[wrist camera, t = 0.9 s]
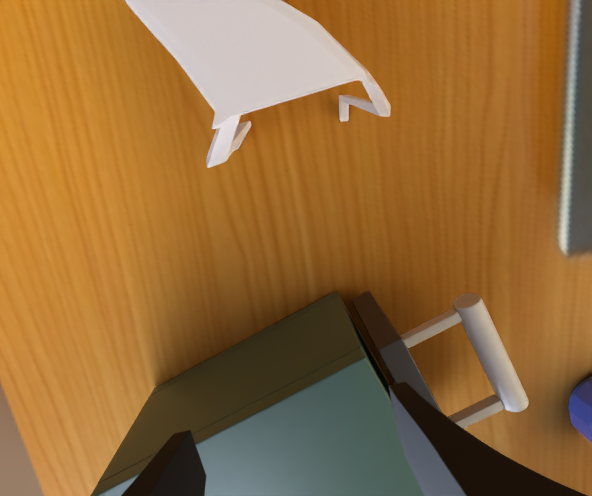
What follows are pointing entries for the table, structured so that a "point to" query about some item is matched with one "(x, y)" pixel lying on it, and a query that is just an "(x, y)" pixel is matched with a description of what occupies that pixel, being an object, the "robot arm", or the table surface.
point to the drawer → (466, 311)
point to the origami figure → (253, 59)
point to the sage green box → (279, 415)
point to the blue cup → (582, 409)
